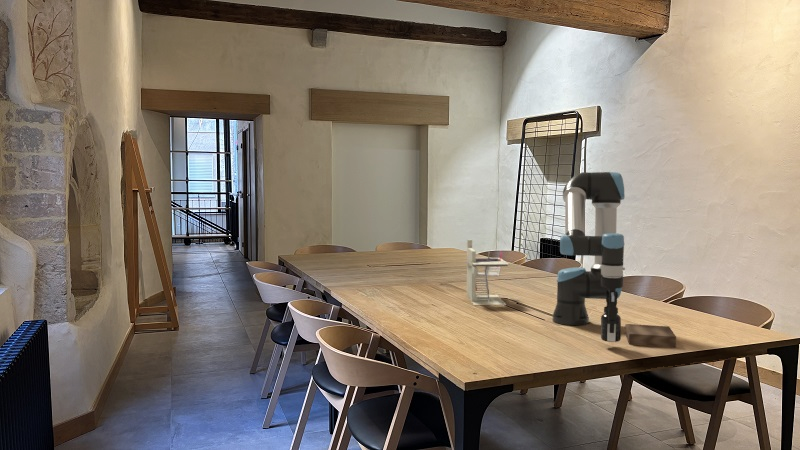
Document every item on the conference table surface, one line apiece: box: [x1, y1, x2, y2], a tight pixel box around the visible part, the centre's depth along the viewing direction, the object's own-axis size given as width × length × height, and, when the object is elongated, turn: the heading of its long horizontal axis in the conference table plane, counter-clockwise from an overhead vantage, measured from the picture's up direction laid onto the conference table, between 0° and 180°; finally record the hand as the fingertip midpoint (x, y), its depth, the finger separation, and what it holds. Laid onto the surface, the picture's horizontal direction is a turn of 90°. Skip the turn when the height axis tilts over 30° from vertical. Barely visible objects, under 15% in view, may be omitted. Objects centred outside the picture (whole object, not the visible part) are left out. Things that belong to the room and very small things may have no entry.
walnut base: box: [624, 323, 677, 348], centre depth 225 cm, size 16×16×4 cm
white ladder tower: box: [466, 239, 510, 306], centre depth 303 cm, size 27×18×30 cm
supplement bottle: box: [600, 305, 622, 343], centre depth 214 cm, size 7×7×12 cm
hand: (610, 338), depth 215 cm, fingers closed on supplement bottle, 7 cm apart
